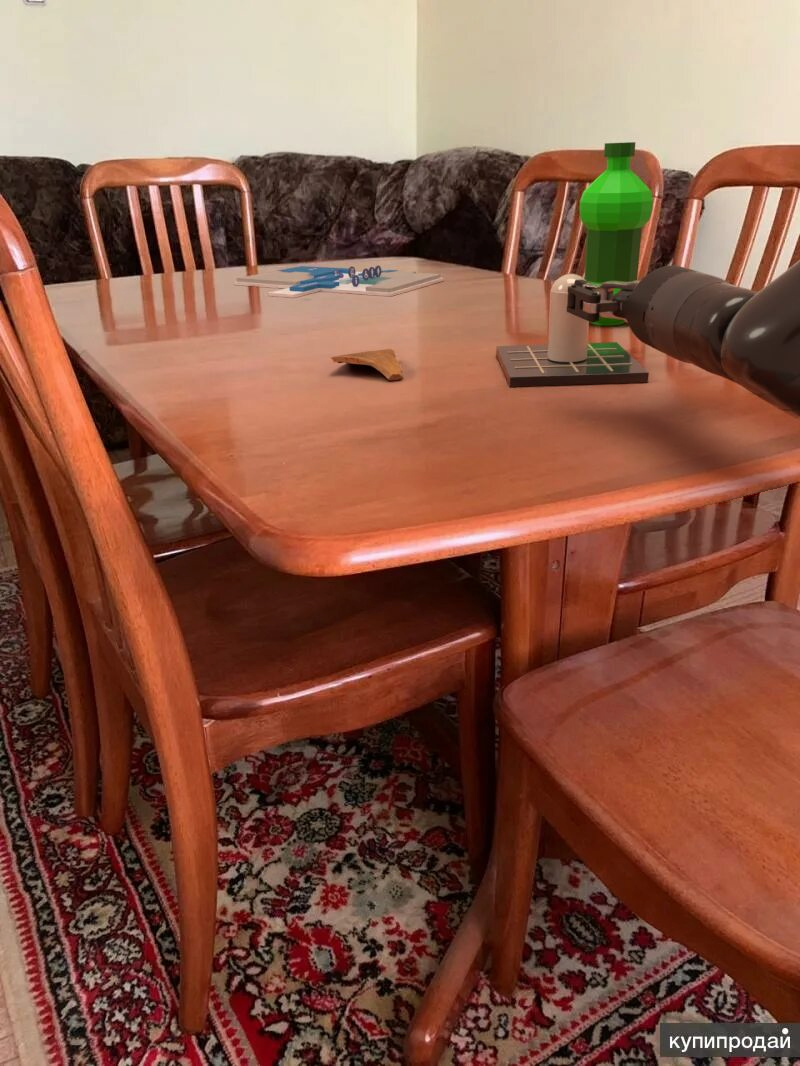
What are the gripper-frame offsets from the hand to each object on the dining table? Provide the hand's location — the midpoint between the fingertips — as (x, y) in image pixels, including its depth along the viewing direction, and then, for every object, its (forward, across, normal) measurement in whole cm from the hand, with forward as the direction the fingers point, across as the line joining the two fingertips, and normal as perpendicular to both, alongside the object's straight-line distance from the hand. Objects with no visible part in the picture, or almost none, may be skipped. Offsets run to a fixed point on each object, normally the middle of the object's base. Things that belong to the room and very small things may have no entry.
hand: (614, 287), depth 88 cm
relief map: (+90, +24, +12) cm, 94 cm away
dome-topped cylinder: (+11, +1, +10) cm, 15 cm away
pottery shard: (+17, +24, +12) cm, 32 cm away
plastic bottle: (+36, -15, +12) cm, 41 cm away
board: (+11, +1, +11) cm, 16 cm away
